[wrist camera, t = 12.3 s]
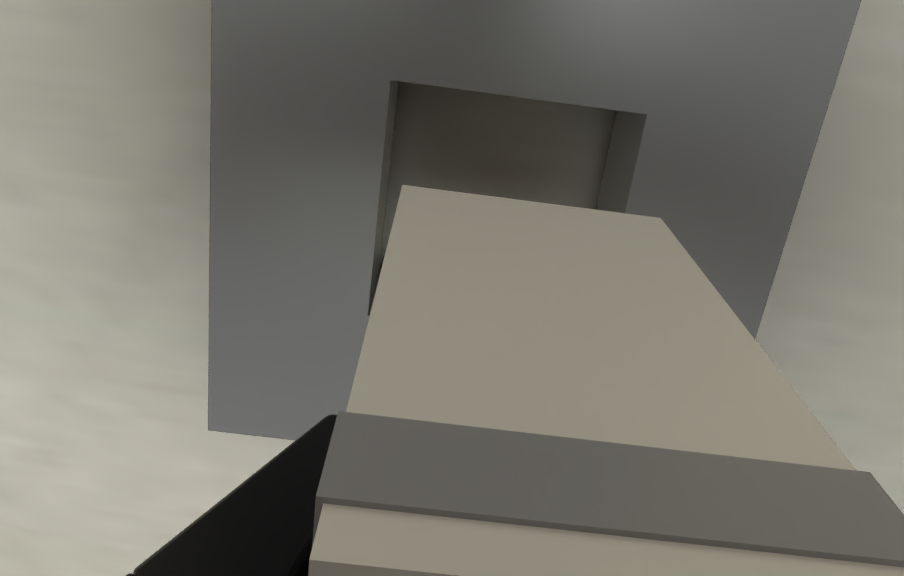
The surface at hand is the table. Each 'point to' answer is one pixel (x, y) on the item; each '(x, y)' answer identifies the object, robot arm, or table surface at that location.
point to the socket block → (497, 72)
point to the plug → (576, 415)
